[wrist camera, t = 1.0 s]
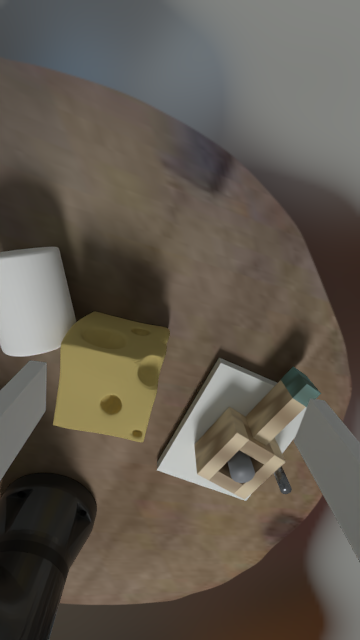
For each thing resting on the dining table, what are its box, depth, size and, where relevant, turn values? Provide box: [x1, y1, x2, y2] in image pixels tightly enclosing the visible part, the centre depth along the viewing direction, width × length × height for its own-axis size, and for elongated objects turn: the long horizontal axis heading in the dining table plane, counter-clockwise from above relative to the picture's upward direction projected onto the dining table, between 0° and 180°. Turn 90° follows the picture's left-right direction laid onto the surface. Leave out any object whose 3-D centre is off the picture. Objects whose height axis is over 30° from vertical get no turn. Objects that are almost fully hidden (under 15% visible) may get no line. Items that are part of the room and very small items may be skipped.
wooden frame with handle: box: [194, 367, 321, 500], centre depth 37 cm, size 18×8×5 cm, turn 144°
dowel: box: [274, 466, 292, 494], centre depth 40 cm, size 1×1×6 cm
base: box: [157, 358, 307, 501], centre depth 39 cm, size 20×16×8 cm
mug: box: [0, 247, 76, 356], centre depth 31 cm, size 12×10×8 cm
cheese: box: [53, 311, 170, 442], centre depth 33 cm, size 10×11×10 cm
